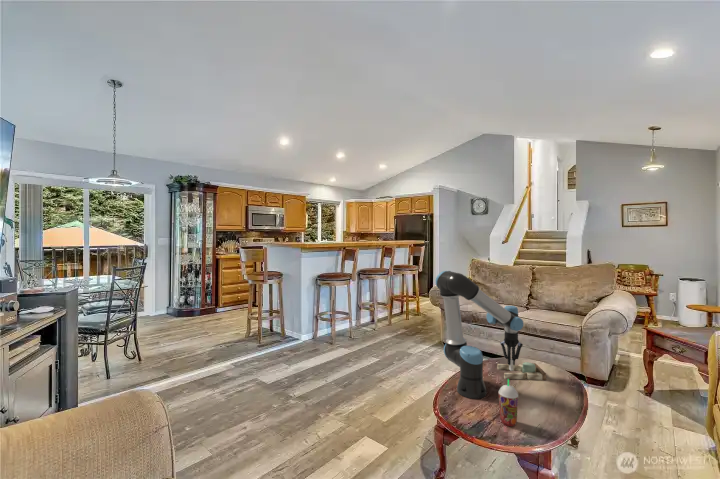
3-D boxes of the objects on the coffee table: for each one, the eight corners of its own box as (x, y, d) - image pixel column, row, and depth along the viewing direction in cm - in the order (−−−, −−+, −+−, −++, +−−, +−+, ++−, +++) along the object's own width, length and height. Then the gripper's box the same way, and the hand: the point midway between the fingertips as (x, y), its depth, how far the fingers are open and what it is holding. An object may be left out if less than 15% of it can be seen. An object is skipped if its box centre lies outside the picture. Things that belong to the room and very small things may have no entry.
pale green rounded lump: (524, 376, 201) (524, 366, 201) (521, 371, 208) (521, 361, 208) (537, 377, 200) (537, 367, 200) (533, 372, 207) (533, 362, 207)
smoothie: (509, 430, 147) (508, 385, 147) (494, 420, 155) (494, 377, 155) (522, 425, 151) (522, 381, 150) (507, 416, 158) (507, 374, 158)
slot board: (504, 378, 199) (504, 372, 198) (497, 368, 213) (497, 362, 213) (546, 380, 196) (545, 373, 196) (535, 369, 211) (535, 363, 211)
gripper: (501, 333, 202) (501, 372, 202) (524, 333, 200) (524, 373, 201) (498, 329, 209) (498, 367, 210) (520, 330, 208) (520, 368, 208)
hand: (511, 370), depth 205 cm, fingers closed
